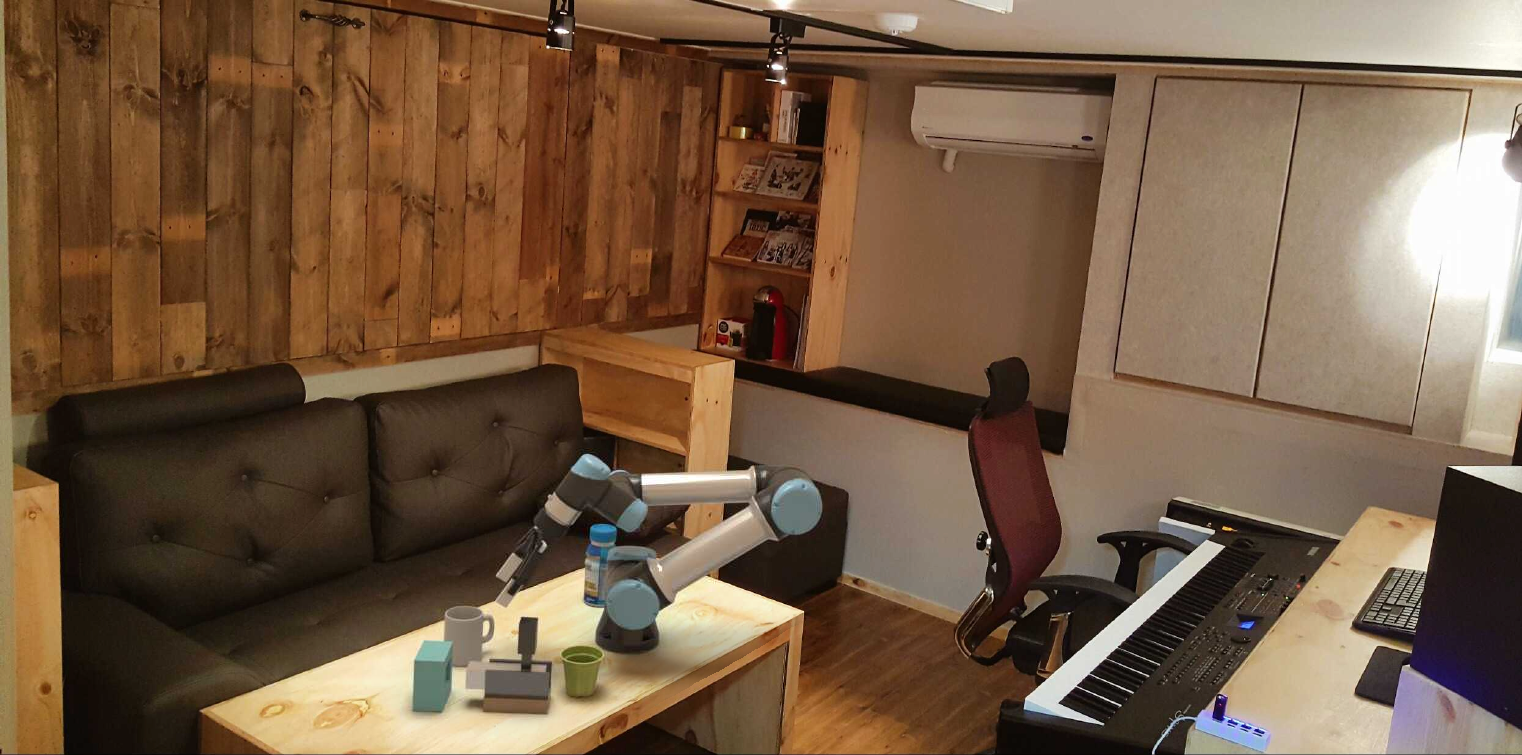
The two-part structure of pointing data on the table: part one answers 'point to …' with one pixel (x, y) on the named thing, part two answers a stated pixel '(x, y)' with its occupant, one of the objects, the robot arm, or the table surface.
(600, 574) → the beverage bottle
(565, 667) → the plant pot
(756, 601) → the table surface
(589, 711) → the table surface
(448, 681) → the socket block
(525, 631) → the grey sliding latch bolt
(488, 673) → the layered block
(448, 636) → the mug
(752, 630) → the table surface
